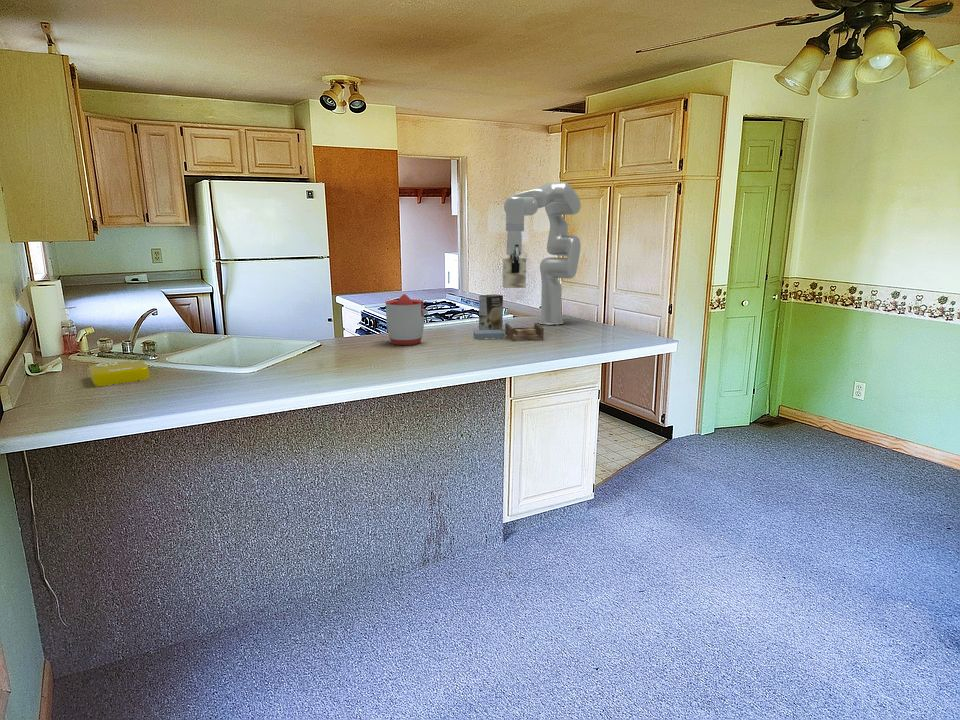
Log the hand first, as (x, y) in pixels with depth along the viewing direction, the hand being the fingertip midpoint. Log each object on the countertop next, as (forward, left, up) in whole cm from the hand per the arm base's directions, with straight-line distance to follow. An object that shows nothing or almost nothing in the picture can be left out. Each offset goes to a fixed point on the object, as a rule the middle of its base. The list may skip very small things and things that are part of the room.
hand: (514, 271), depth 250 cm
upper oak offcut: (-4, +6, -26) cm, 27 cm away
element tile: (+135, +55, -28) cm, 148 cm away
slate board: (+11, +1, -28) cm, 30 cm away
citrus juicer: (+45, +9, -28) cm, 54 cm away
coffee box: (+8, -15, -28) cm, 33 cm away
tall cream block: (0, 0, -6) cm, 6 cm away
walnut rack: (-4, +2, -28) cm, 28 cm away
